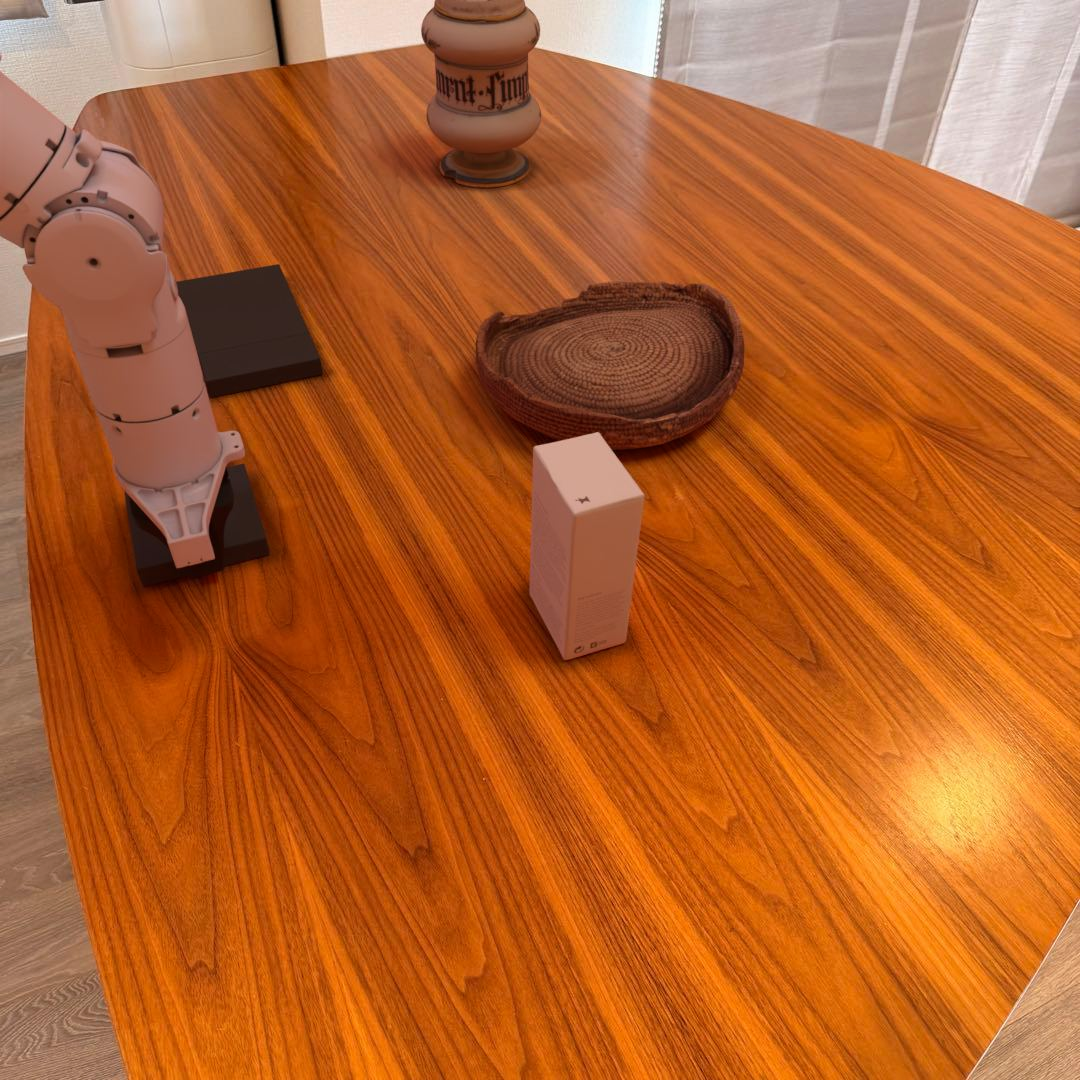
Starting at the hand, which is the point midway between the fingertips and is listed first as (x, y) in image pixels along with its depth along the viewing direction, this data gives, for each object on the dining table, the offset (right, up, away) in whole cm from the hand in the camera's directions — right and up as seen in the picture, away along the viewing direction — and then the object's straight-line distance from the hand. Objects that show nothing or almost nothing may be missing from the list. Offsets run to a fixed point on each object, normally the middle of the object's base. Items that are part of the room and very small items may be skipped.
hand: (205, 567), depth 61 cm
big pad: (-7, +18, +20) cm, 28 cm away
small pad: (-2, +4, +5) cm, 7 cm away
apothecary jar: (+15, +42, +45) cm, 64 cm away
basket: (+27, +14, +17) cm, 35 cm away
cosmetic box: (+23, -3, -1) cm, 24 cm away
